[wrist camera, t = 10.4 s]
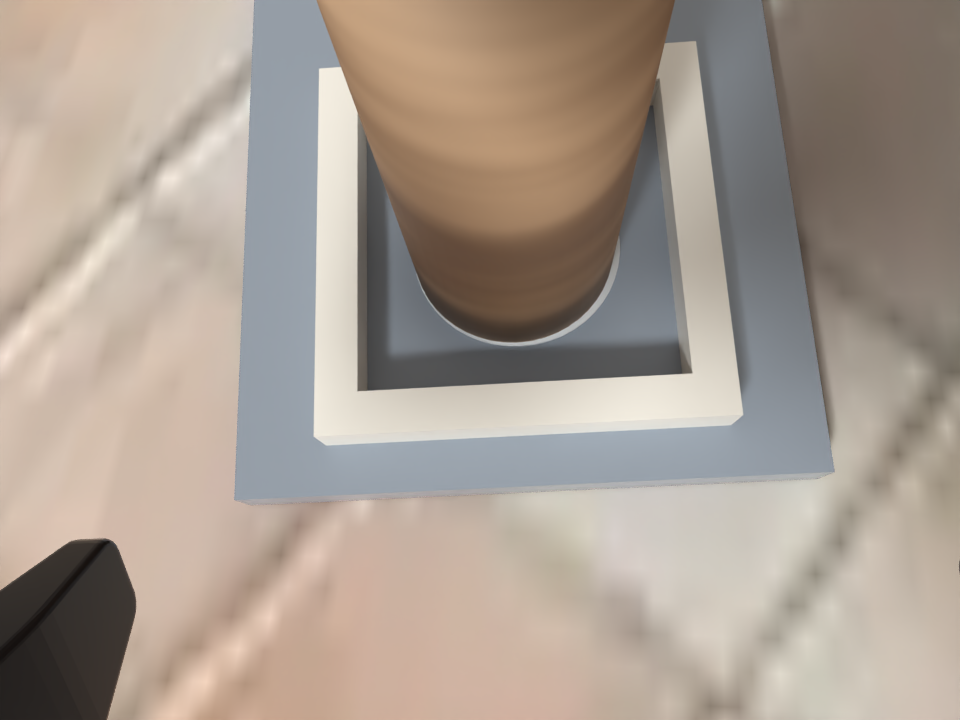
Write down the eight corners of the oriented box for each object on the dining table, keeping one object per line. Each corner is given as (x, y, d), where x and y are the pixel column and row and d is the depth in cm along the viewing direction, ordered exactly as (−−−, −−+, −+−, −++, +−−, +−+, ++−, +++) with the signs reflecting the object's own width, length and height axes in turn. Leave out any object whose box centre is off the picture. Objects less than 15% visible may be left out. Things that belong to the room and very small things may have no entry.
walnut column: (620, 337, 20) (762, -77, 8) (415, 348, 20) (230, -36, 8) (605, 152, 22) (704, -456, 9) (412, 164, 22) (249, -411, 9)
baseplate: (817, 478, 20) (853, 464, 18) (250, 505, 21) (215, 494, 19) (728, -120, 25) (748, -191, 23) (271, -82, 26) (245, -148, 24)
